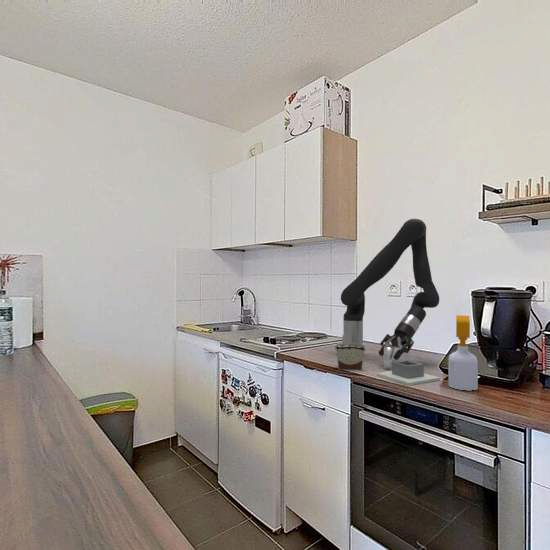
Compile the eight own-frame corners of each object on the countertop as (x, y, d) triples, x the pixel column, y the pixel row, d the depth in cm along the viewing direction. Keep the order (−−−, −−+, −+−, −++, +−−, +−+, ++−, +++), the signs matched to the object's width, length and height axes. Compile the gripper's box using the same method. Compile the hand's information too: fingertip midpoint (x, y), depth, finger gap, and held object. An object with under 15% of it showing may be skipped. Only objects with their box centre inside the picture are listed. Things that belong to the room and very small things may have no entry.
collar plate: (376, 375, 148) (376, 361, 148) (406, 371, 155) (406, 357, 155) (408, 385, 134) (408, 369, 134) (440, 380, 141) (440, 365, 141)
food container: (363, 367, 162) (363, 343, 162) (365, 370, 156) (365, 345, 156) (334, 366, 163) (334, 342, 163) (334, 369, 157) (334, 345, 157)
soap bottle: (476, 385, 134) (476, 315, 134) (478, 392, 126) (478, 317, 126) (448, 382, 138) (448, 314, 138) (448, 389, 130) (448, 316, 130)
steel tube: (381, 368, 160) (381, 346, 160) (388, 367, 162) (388, 346, 162) (388, 370, 156) (388, 348, 156) (395, 369, 158) (395, 347, 158)
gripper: (390, 319, 169) (370, 348, 164) (416, 323, 156) (395, 353, 151) (399, 331, 172) (380, 359, 166) (425, 335, 159) (405, 366, 153)
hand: (387, 356), depth 159 cm, fingers open, 8 cm apart
